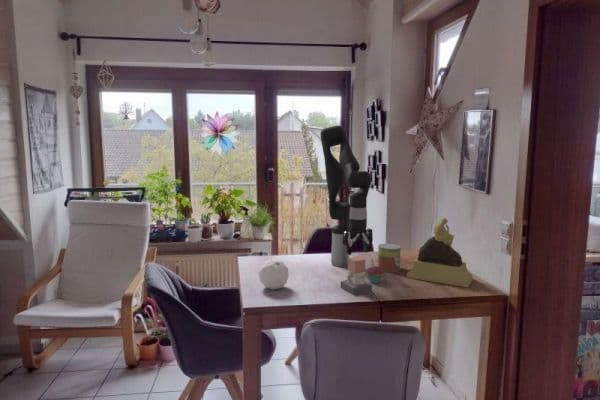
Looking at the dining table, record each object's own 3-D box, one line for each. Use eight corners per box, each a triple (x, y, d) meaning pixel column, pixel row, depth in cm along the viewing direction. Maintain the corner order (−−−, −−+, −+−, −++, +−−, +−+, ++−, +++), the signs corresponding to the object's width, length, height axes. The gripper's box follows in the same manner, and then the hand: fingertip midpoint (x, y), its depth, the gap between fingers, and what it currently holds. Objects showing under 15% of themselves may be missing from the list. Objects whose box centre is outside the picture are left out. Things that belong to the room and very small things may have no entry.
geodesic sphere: (301, 277, 194) (288, 250, 198) (277, 284, 184) (264, 255, 189) (283, 290, 203) (271, 263, 207) (260, 297, 194) (248, 269, 198)
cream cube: (347, 281, 196) (347, 270, 195) (357, 280, 199) (358, 268, 198) (354, 285, 191) (354, 273, 190) (364, 283, 194) (365, 271, 193)
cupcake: (370, 285, 201) (371, 259, 199) (363, 279, 209) (363, 255, 207) (387, 283, 203) (388, 258, 201) (379, 277, 211) (380, 253, 209)
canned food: (394, 273, 218) (394, 250, 216) (373, 269, 224) (374, 246, 223) (403, 268, 226) (404, 245, 225) (383, 264, 233) (384, 242, 231)
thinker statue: (472, 279, 209) (476, 217, 205) (468, 287, 198) (471, 222, 194) (414, 270, 223) (416, 212, 219) (406, 277, 212) (409, 216, 208)
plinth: (340, 287, 198) (340, 281, 197) (359, 284, 202) (359, 278, 202) (352, 294, 189) (352, 288, 188) (371, 291, 193) (372, 284, 193)
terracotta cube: (347, 270, 195) (348, 258, 195) (358, 268, 198) (358, 256, 197) (354, 273, 190) (355, 261, 190) (365, 271, 193) (365, 259, 192)
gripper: (349, 220, 184) (348, 257, 187) (376, 217, 190) (375, 253, 193) (339, 217, 191) (339, 253, 193) (366, 214, 197) (365, 249, 199)
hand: (357, 253), depth 193 cm, fingers open, 8 cm apart
